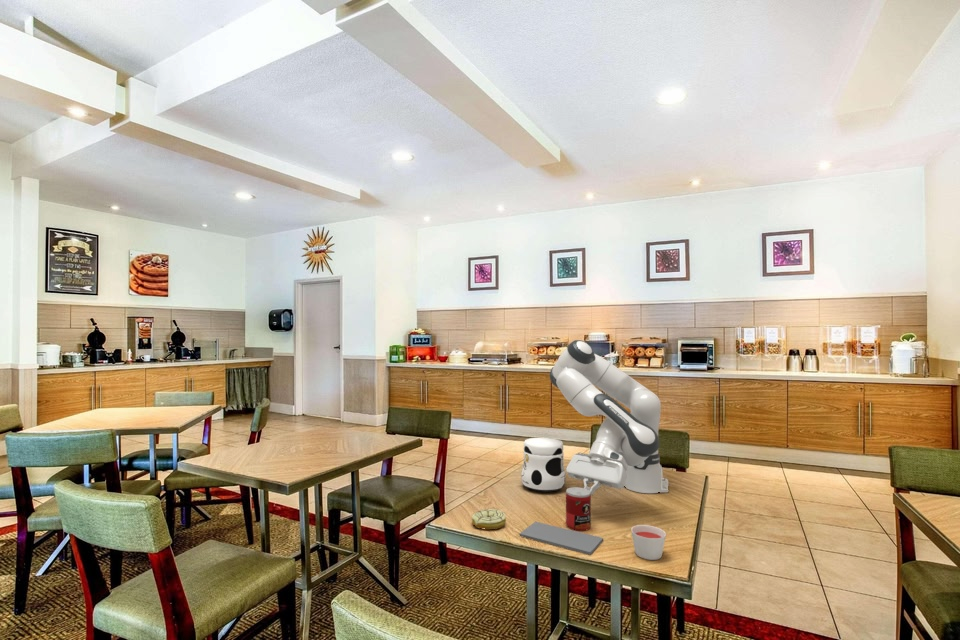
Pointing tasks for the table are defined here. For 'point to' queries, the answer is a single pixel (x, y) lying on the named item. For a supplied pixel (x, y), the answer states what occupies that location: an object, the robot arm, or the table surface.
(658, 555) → the candle
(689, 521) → the table surface
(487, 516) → the decorated donut
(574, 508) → the canned food
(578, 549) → the mat
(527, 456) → the milk container
